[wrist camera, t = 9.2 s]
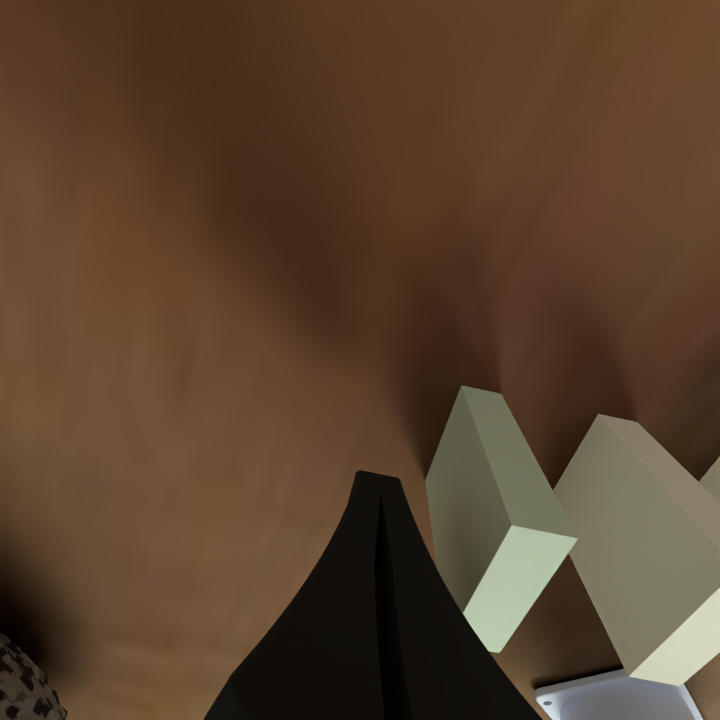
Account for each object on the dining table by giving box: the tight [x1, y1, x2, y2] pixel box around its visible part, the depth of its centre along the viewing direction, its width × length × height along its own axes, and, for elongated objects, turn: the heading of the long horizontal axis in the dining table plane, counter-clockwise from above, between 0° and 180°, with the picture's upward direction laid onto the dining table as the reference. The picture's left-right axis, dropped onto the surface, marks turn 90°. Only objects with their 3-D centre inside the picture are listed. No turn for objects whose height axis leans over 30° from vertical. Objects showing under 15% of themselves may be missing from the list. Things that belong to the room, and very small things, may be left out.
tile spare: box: [425, 385, 578, 653], centre depth 13 cm, size 2×5×6 cm, turn 168°
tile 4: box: [553, 414, 720, 686], centre depth 13 cm, size 2×5×6 cm, turn 168°
